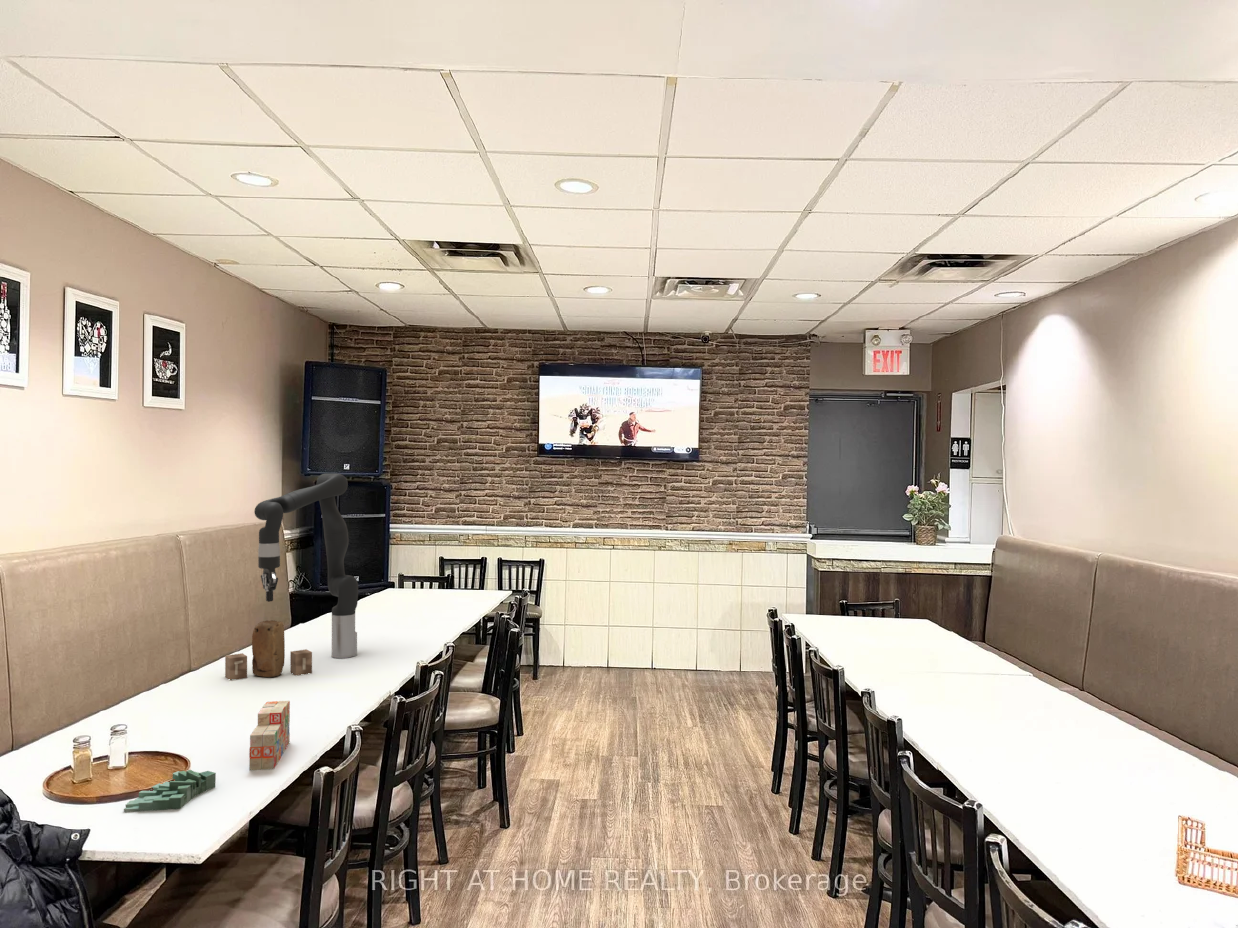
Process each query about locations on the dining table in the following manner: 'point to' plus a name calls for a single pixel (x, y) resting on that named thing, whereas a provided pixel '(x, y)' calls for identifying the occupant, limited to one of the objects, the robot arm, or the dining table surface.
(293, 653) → the walnut block one
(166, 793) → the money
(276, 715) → the stack of blocks
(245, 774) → the dining table surface
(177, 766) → the dining table surface
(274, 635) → the block
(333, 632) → the robot arm
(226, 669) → the brown letter block
